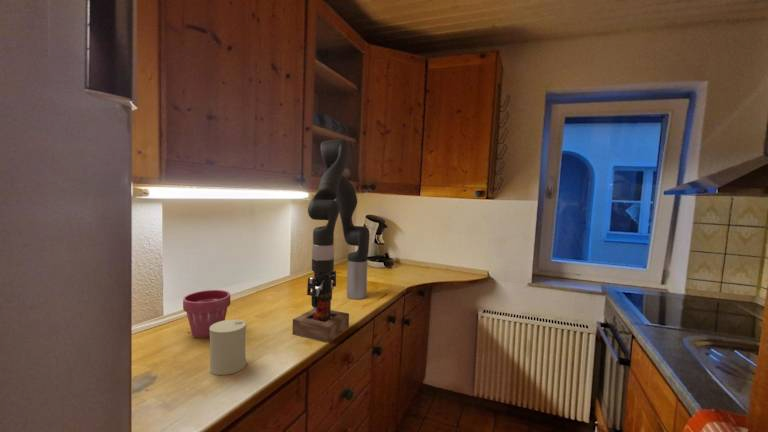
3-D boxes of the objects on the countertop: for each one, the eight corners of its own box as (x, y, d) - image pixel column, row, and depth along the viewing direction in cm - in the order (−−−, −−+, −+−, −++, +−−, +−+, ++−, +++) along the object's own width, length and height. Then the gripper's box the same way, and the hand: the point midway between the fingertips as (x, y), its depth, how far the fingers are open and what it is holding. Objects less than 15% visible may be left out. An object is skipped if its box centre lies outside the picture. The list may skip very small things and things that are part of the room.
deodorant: (309, 320, 118) (310, 277, 117) (320, 315, 123) (321, 274, 122) (323, 323, 115) (324, 280, 114) (333, 318, 120) (334, 276, 119)
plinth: (316, 320, 128) (316, 307, 128) (348, 327, 123) (349, 313, 123) (292, 334, 116) (292, 319, 115) (327, 342, 110) (327, 326, 110)
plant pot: (173, 335, 111) (172, 297, 111) (210, 321, 124) (210, 287, 123) (203, 345, 106) (203, 304, 105) (239, 329, 118) (239, 293, 118)
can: (252, 366, 94) (252, 324, 93) (217, 379, 87) (217, 333, 86) (236, 355, 100) (237, 315, 99) (203, 366, 93) (203, 323, 92)
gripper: (325, 253, 126) (324, 296, 127) (301, 259, 112) (300, 307, 114) (342, 255, 123) (341, 299, 124) (320, 262, 109) (319, 311, 111)
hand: (322, 303), depth 119 cm, fingers open, 8 cm apart
